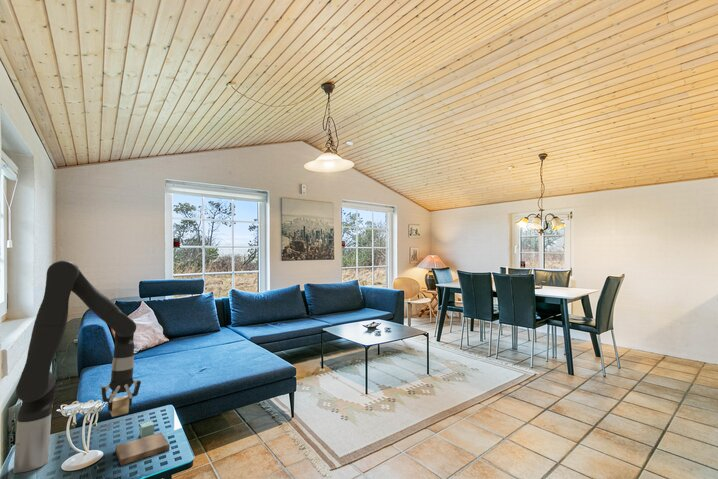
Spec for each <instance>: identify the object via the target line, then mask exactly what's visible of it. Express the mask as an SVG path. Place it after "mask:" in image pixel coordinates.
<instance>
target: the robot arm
mask: <svg viewBox="0 0 718 479" xmlns="http://www.w3.org/2000/svg"><path fill="white" fill-rule="evenodd" d="M45 280H46V281H45V288H44V294H43V298H42V301H41V302H40V303H41V304H40V305H39V308H38V311H37V314H36V316H35V317H36V318H35V320H34V324H33V327H32V331H31V334H30V335H31V337H30V341H29V345H28V349H27V350H28V351H27V356H26V361H25V364H24V366H23V370H22V372H21V374H20V378H19V379H18V383H17V385H16V387H15V388H16V389H15V393H16V394H15V395H16V396H17V398H18V400H20V401H21V406H20V408H19V411H18V412H17V415H16V416H17V417H16V420H17V421H16V434H15V444H14V457H13V472H12V474H18V473H25V472H26V473H27V472H30V471H34V470H36V469H38V468H41V467H42V466H45V465H46V464H47V463H48V462H49V457H50V444H51V442H50V441H51V440H50V439H51V422H52V410H53V405H54V402H55V394H56V383H57V381H56V376H55V374H54V373H53V372H52V371H51V366H52V363H53V361H54V360H53V359H54V357H55V356H56V354H57V351H58V349H59V348H60V345H61V343H62V340H63V338H64V336H65V332H66V328H67V323H68V317H69V304H70V303H69V299H70V296H71V293H73V294H75V296H77V297H78V298H79V299H80V300H81V301H82V302H83V304H84V305H86V307H87V308H88V309H89V310H90V312H92V313H93V314H95V315H96V316H97V317H98V318H99V319H100V320H102V321H103V322H104V323H106V324H107V325H108V326H109V327H110V328H111V329H112V330H113V331H114V348H113V357H112V363H111V367H110V368H111V373H110V374H111V375H110V382H109V384H107V385H101V387H100V390H101V391H100V392H101V397H102V398H101V399H102V401H103V403H107V411H108V412H109V413H110V412H112V403H113V402H112V401H113V399H114V398H116V395H118V394H121V393H126V396H128V398H129V409H130V407H131V406H132V404H133V398H134V397H137V396H138V394H139V391H140V387H141V384H142V381H141V380H140V379H137V380H134V379H133V378H134V367H135V366H134V364H135V358H134V354H135V351H134V350H135V342H134V334H135V333H136V331H137V325H136V322H135V321H134V319H132V318H130V317H128V315H127V314H126V313H124V312H123V311H122V310H121V309H120V307H119V306H117V305H116V304H115V303H114V302H113V301H112V300H111V299H110V298H109V297H107V296H106V295H105V294H104V293H102V292H101V291H100V290H99V289H98V288H96V287H95V286H94V285H93V284H92V283H91V282H90V281H89V280H88V279H87V277H85V276H84V274H83V273H82V271H81V270H80V268H79V266H78V264H76V263H75V262H73V261H70V260H58V261H55V262H53V263H52V264H51V265H49V267H48V268H47V271H46V278H45ZM133 385H134V389H133V392H132V391H131V389H130V388H131V387H132V386H133ZM109 389H110V390H111V392H110V394H109V396H107V392H108V390H109Z"/></svg>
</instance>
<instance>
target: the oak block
mask: <svg viewBox="0 0 718 479" xmlns="http://www.w3.org/2000/svg"><path fill="white" fill-rule="evenodd" d="M112 402H113V403H112V412H110V411H109V413H110V415H111V417H112V418H113V417H117V416H118V417H119V416H122V415H126V414H129V411H130V410H129V409H130V408H129V398H128V395H122V396H117V397H114V399H113V401H112Z"/></svg>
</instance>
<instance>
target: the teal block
mask: <svg viewBox="0 0 718 479" xmlns="http://www.w3.org/2000/svg"><path fill="white" fill-rule="evenodd" d="M154 434H155V423H154V422H153V420H150V421H146V422H143V423H140V424H139V436H140V438H143V437H147V436H150V435H154Z"/></svg>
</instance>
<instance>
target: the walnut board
mask: <svg viewBox="0 0 718 479" xmlns="http://www.w3.org/2000/svg"><path fill="white" fill-rule="evenodd" d="M170 445H171V444H170V443H169V441H168V440H167V438H166V437H165V436H164V434H163V432H158V433H154V435H150V436H147V437H143V438H141V437H140V438H137V439H134V440H131V441H127V442H123V443H120V444H118V445H117V444H116V445H115V448H114V449H115V454H116V456H117V460H118V462H119V464H120V466H123V465H126V464H129V463H132V462H135V461H138V460H141V459H145V458H148V457H150V456H154V455H157V454H159V453H162V452H163V453H164V452H165V451H168V450H170Z"/></svg>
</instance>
